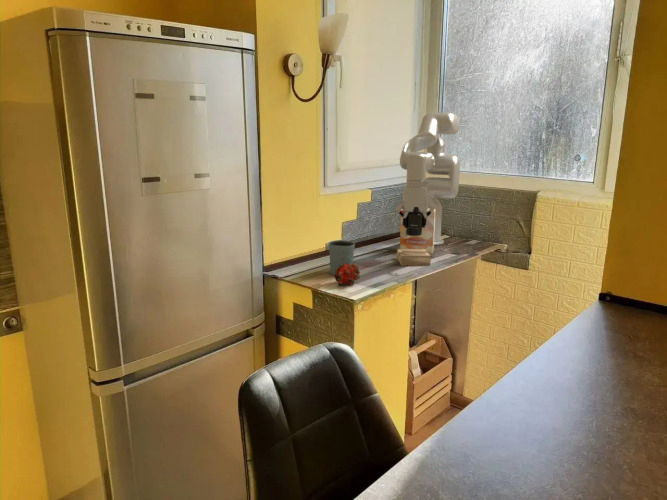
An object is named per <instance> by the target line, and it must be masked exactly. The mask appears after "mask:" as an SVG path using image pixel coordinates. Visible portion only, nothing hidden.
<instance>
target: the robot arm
mask: <svg viewBox="0 0 667 500" xmlns="http://www.w3.org/2000/svg"><path fill="white" fill-rule="evenodd" d="M459 129H460V120H459V117H458V116H457V115H456V114H455V113H452V112H429V113H426V114H425V115H424V116H423V118H422V120H421V123H420V127H419V131H418V133H417V135H415V136H413V137H411V138H410V139H409V140H408V141H407V142H405V144H404V145H403V147H402V151H401V154H400V157H399V166H400V167H401V169H402V170H405V171H406V186H404V188H403V192H402V202H401V203H400V204H399V205H398V206H397V207H396V208H395V211H396V212H397V213H398V214H399V215H400V217H401V216H402V217H403V226H404V227H405V228H407V218H406V216H407V214H408V213H409V212H413V210H414V207H418V208H419V212H422V214H423V228H425V225H426V218H427V217H428V216H429V215H430V214H431V212H433V210H434V209H436V210H435V232H434V246H439V245H443V244H444V242H445V240H444V239H442V238H441V237H442V214H443V213H442V212H443V206H442V203H441V202H440V201H439V199H455V198H456V197H457V196H458V192H459V187H460V186H459V184H460V170H461V162H460V158H459V156H457V155H455V154H446V143H445V141H444V139H443V138H442V137H441V135H456V134H457V133H458V131H459ZM422 150H426V151H422ZM426 173H427V174H428V175H433V176H434V175H435V176H448V177H431V176H430V177H426ZM401 209H403V210H404V213H402V212H401ZM428 209H429V211H427V210H428ZM425 211H427V212H425Z"/></svg>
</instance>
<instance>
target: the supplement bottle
mask: <svg viewBox="0 0 667 500" xmlns="http://www.w3.org/2000/svg"><path fill="white" fill-rule="evenodd" d="M406 218H407V228H406V234H407V235H410V236H420V235H422V227H423V214H422V213H421V212H419V208H418V207H414V210H413V212H409V213H408V214H407V216H406Z"/></svg>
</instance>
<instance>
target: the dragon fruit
mask: <svg viewBox="0 0 667 500" xmlns="http://www.w3.org/2000/svg"><path fill="white" fill-rule="evenodd" d="M360 272H361V271H359V267H358V266H357V265H356V263H354V262H353V263H352V264H351V265H350V264H349V263H348V262H346V265H342V264H341V265H340V267H339V268H337V269H336V274H335V275H333V277H334V279H335V281H336V282H338V286H345V285H347V284H348V285H349V286H352V285H353V284H355V281H357V280H360V276H359V275H360V274H361V273H360Z"/></svg>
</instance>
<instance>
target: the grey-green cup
mask: <svg viewBox="0 0 667 500" xmlns="http://www.w3.org/2000/svg"><path fill="white" fill-rule="evenodd" d="M355 246H356V244H355V242H354V241H350V240H343V239H342V240H338V239H337V240H331V241H329V242H328V251H329V252H328V253H329V268H330V269H329V273H330V275H332V276H334V275H335V274H336V269H337V268H339V267H340V265H341V264H342V265H346V262H348V263H349V264H350V265H351V264H352V263H353V264H354V257H355V255H354V254H355Z"/></svg>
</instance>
